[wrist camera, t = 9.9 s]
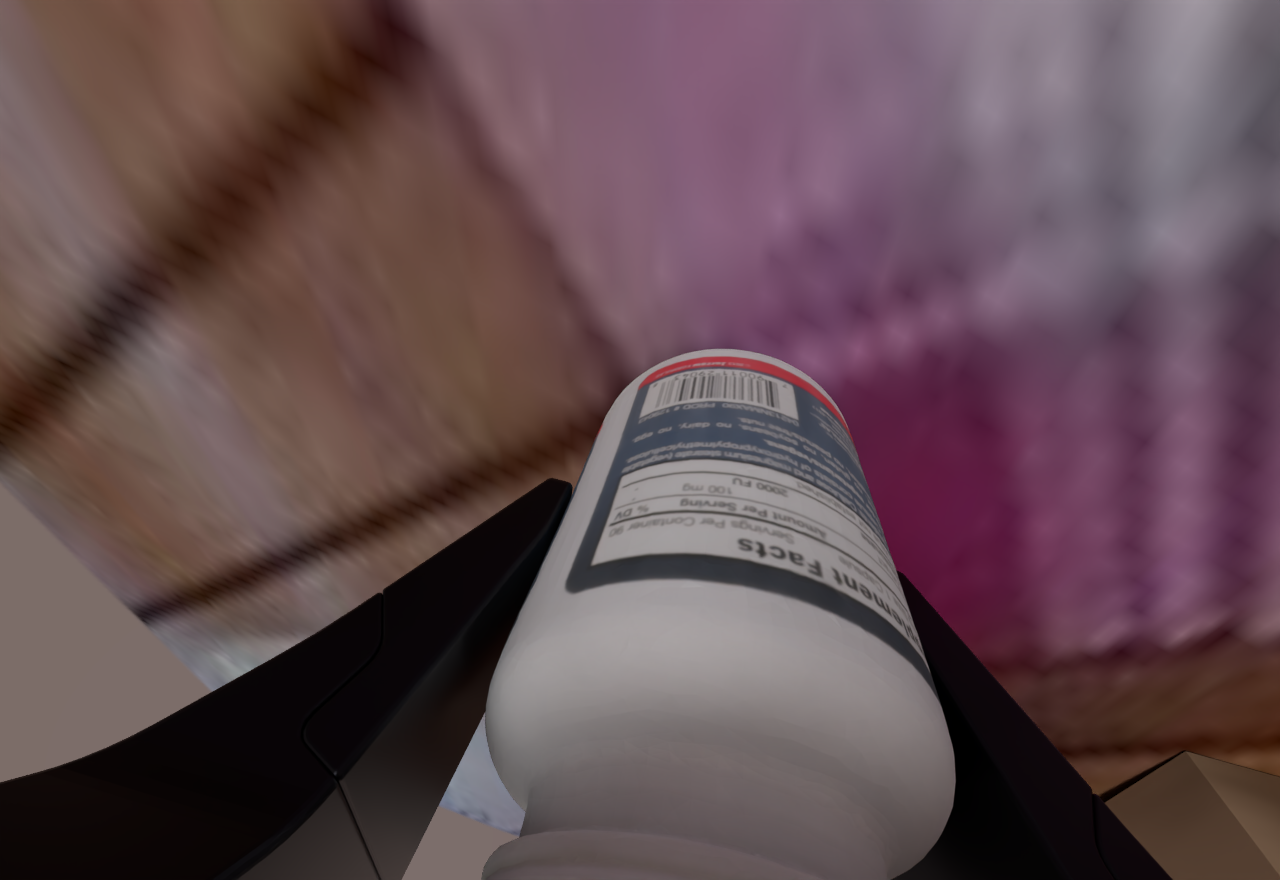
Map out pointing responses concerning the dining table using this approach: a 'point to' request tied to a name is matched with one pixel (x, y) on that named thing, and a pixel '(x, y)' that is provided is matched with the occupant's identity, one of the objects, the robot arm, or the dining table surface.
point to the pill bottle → (719, 652)
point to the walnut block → (1206, 819)
